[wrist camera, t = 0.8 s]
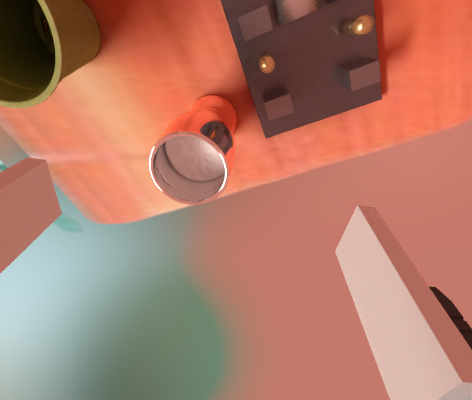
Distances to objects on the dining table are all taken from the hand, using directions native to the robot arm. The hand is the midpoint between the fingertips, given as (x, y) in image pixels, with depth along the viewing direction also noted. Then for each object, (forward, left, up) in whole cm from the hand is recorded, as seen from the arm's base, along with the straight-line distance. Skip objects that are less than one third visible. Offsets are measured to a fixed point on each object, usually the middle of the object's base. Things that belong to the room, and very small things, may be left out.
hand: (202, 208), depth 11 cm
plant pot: (-13, -15, -25) cm, 32 cm away
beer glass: (+2, -4, -25) cm, 25 cm away
